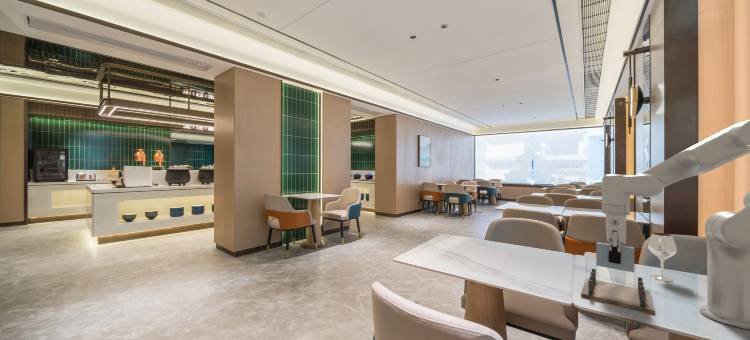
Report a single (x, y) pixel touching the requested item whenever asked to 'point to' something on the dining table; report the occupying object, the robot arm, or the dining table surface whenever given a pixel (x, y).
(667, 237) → the wineglass
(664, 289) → the dining table surface
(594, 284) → the rack
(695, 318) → the dining table surface
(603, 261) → the pale blue upright panel
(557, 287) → the dining table surface
